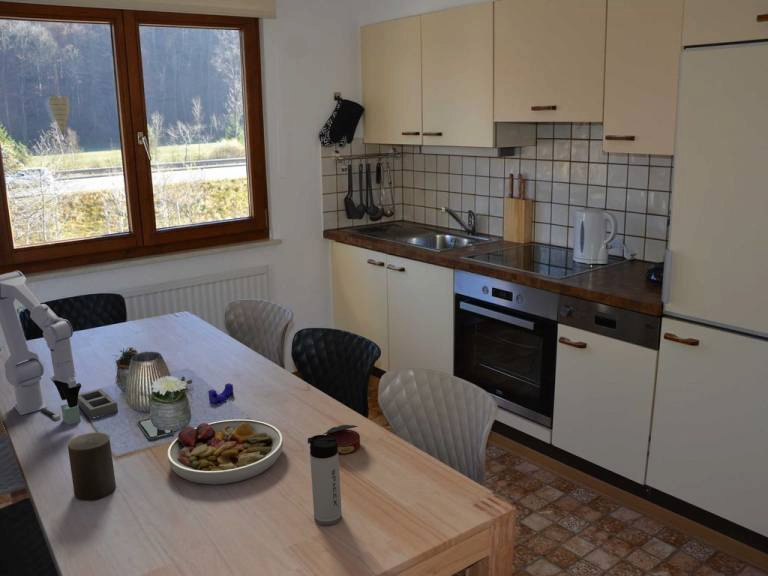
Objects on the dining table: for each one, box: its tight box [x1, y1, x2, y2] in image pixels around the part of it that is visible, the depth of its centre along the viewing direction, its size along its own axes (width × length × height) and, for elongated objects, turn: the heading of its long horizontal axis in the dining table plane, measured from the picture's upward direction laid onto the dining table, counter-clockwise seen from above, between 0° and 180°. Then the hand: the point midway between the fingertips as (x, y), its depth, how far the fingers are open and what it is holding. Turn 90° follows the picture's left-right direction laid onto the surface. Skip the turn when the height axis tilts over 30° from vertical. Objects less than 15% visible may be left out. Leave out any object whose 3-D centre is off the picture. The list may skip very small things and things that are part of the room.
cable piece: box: [40, 408, 61, 421], centre depth 224 cm, size 10×1×1 cm, turn 49°
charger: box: [60, 403, 82, 426], centre depth 219 cm, size 4×4×5 cm
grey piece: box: [77, 388, 119, 419], centre depth 228 cm, size 15×8×3 cm, turn 39°
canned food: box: [323, 424, 361, 456], centre depth 197 cm, size 11×10×10 cm
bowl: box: [166, 419, 284, 485], centre depth 192 cm, size 30×30×8 cm
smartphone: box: [137, 417, 175, 442], centre depth 213 cm, size 7×1×15 cm
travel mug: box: [307, 434, 343, 527], centre depth 162 cm, size 6×7×20 cm
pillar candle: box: [67, 432, 117, 502], centre depth 178 cm, size 10×10×15 cm
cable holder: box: [208, 382, 234, 405], centre depth 232 cm, size 8×4×4 cm, turn 138°
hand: (69, 402), depth 218 cm, fingers open, 7 cm apart
